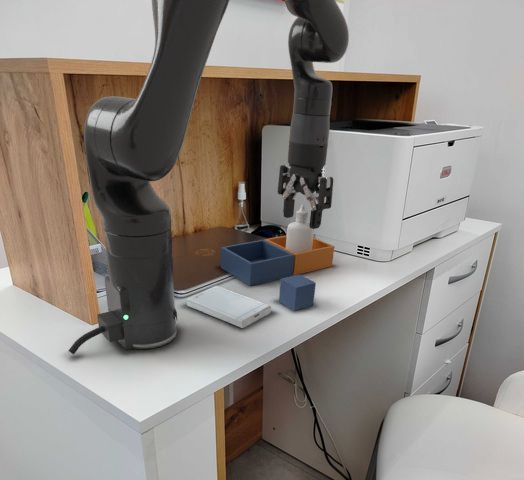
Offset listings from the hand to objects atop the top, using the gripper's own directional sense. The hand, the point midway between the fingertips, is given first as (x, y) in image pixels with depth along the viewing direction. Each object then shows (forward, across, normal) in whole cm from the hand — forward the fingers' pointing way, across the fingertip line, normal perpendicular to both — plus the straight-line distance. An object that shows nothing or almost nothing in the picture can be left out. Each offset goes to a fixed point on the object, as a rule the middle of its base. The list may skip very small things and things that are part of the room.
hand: (301, 222), depth 104 cm
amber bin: (+9, 0, 0) cm, 9 cm away
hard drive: (+9, +12, -26) cm, 30 cm away
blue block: (+9, +16, -14) cm, 23 cm away
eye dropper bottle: (+9, 0, 0) cm, 9 cm away
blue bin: (+9, 0, -11) cm, 14 cm away
